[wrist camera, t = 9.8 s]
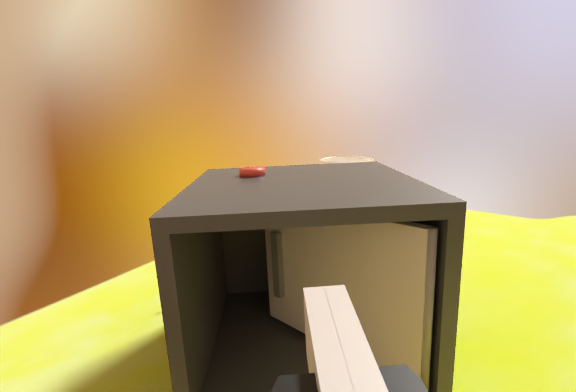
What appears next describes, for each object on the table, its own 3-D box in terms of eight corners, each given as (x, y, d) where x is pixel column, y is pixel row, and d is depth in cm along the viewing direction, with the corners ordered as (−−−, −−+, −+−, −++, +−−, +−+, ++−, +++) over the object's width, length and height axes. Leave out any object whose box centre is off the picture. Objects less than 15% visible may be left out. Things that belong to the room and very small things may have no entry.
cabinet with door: (374, 288, 41) (376, 155, 37) (449, 418, 23) (467, 191, 20) (205, 298, 40) (191, 164, 37) (153, 439, 23) (116, 209, 19)
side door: (430, 390, 24) (440, 227, 21) (421, 403, 23) (430, 233, 20) (276, 311, 34) (269, 195, 31) (265, 317, 33) (257, 198, 30)
